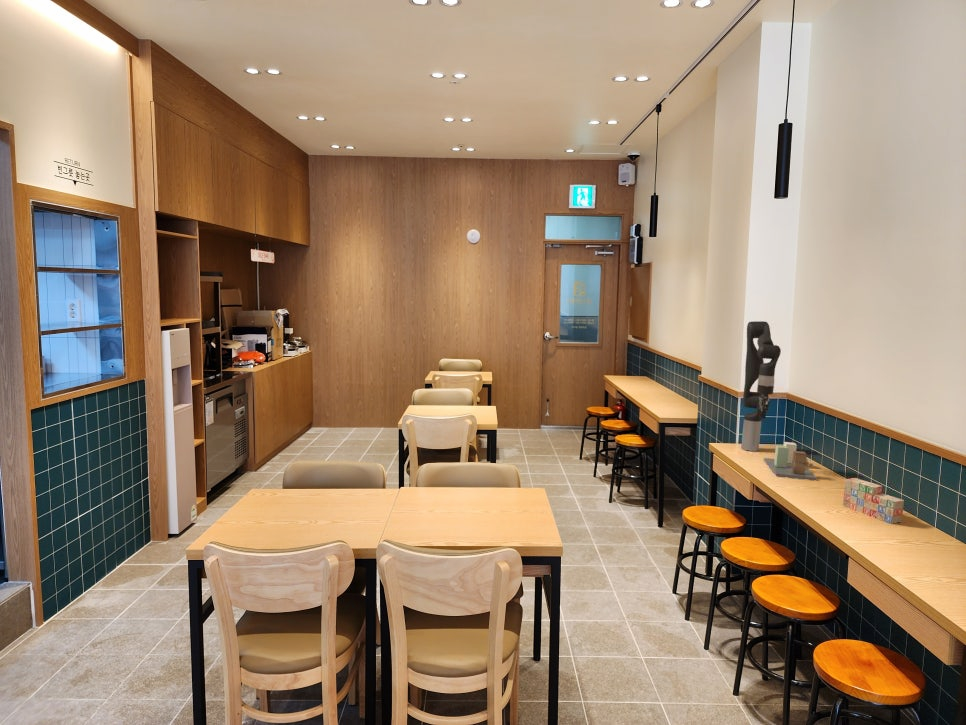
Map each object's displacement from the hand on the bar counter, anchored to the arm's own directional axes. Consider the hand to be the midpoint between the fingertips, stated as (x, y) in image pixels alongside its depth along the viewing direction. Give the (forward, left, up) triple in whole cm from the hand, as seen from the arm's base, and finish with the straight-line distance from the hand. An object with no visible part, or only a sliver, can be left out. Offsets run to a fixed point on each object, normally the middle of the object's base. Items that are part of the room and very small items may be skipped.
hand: (762, 417), depth 325 cm
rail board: (-1, +15, -26) cm, 30 cm away
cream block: (-11, +17, -24) cm, 32 cm away
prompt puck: (-19, +25, -26) cm, 41 cm away
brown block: (+9, +17, -24) cm, 31 cm away
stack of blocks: (+59, +33, -26) cm, 73 cm away
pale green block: (-1, +11, -24) cm, 27 cm away
